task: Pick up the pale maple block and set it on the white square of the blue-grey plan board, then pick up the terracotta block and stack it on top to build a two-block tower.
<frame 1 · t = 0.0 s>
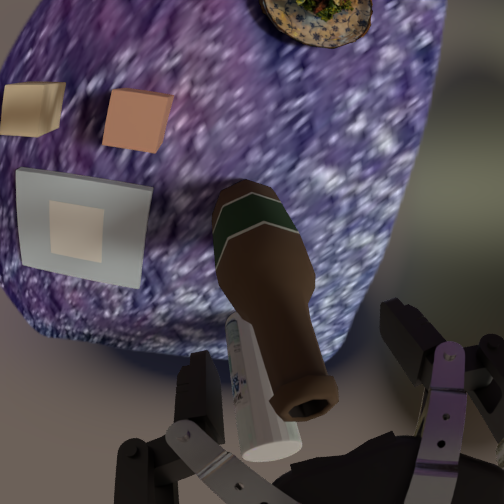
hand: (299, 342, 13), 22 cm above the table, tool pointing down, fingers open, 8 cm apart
spray can: (246, 323, 43), on the table
beer bottle: (245, 209, 34), on the table
maple block: (43, 104, 23), on the table
terracotta block: (144, 114, 26), on the table
burger: (315, 1, 22), on the table
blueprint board: (78, 227, 31), on the table
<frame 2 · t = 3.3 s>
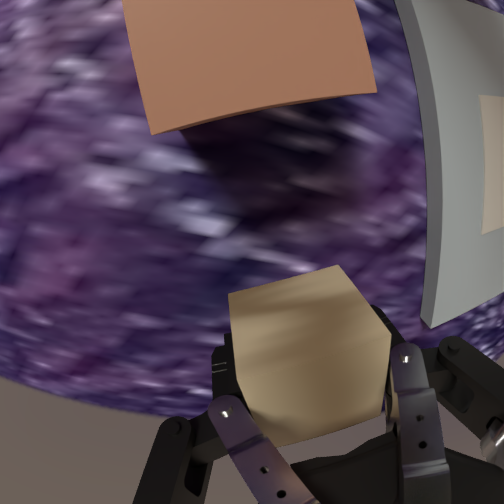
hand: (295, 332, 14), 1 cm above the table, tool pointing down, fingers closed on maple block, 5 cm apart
maple block: (292, 323, 14), on the table, touching gripper
terracotta block: (231, 51, 9), on the table
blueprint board: (503, 157, 12), on the table
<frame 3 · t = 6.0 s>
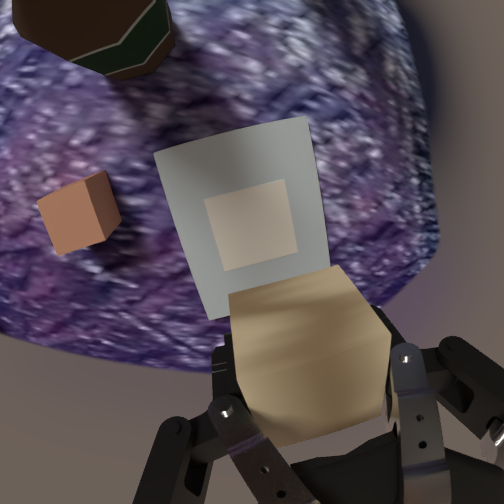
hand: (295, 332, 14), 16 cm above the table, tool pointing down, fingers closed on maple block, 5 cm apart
beer bottle: (135, 42, 20), on the table
maple block: (292, 323, 14), point 15 cm above the table, touching gripper
terracotta block: (90, 203, 25), on the table
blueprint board: (251, 222, 28), on the table
when the fingers open (3 cm above the table, at t = 8.8 s): maple block drops 1 cm, resting on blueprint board.
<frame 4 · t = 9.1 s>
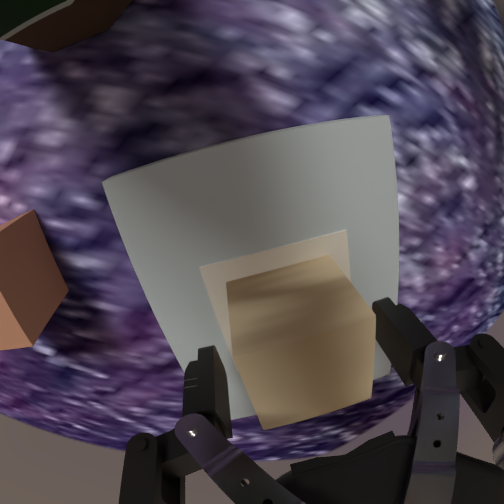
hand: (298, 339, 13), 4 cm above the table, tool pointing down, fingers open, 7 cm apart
maple block: (287, 310, 15), point 1 cm above the table, touching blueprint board
terracotta block: (22, 261, 14), on the table
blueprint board: (282, 296, 16), on the table
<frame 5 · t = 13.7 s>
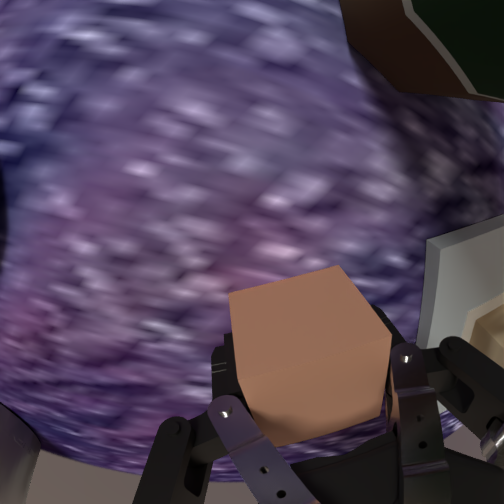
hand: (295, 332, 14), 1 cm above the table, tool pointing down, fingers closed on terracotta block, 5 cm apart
beer bottle: (406, 23, 9), on the table
maple block: (490, 333, 16), point 1 cm above the table, touching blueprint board
terracotta block: (292, 323, 14), on the table, touching gripper
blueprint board: (480, 323, 17), on the table
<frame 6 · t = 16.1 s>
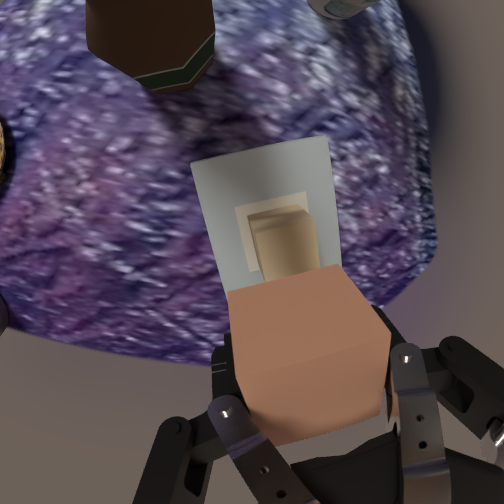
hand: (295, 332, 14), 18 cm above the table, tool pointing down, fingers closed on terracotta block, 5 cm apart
beer bottle: (172, 58, 23), on the table
maple block: (277, 233, 30), point 1 cm above the table, touching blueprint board
terracotta block: (291, 321, 14), point 18 cm above the table, touching gripper
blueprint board: (274, 228, 31), on the table
when the fingers open (8 cm above the table, at t = 19.0 s): terracotta block drops 1 cm, resting on maple block.
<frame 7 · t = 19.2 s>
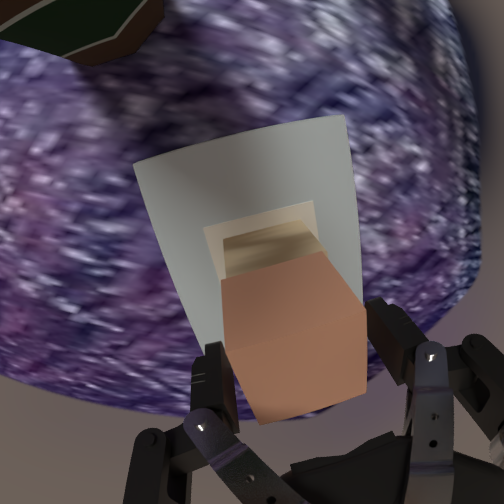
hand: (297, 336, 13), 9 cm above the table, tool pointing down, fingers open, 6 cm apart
beer bottle: (112, 16, 13), on the table
maple block: (269, 263, 20), point 1 cm above the table, touching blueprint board, terracotta block
terracotta block: (282, 307, 15), point 6 cm above the table, touching maple block
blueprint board: (266, 255, 21), on the table
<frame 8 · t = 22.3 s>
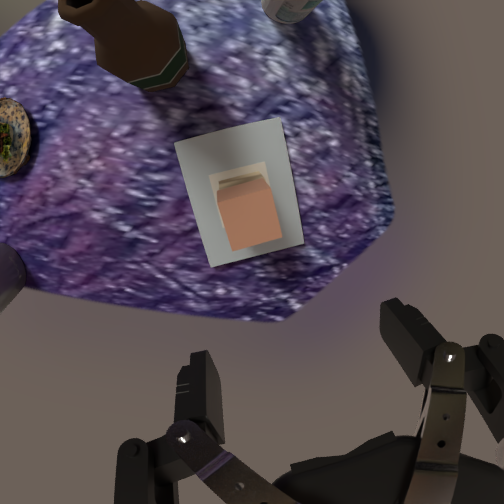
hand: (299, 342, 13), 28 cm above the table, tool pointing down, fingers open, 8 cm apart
spray can: (284, 5, 28), on the table
beer bottle: (159, 64, 30), on the table
maple block: (243, 195, 37), point 1 cm above the table, touching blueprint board, terracotta block
terracotta block: (245, 206, 33), point 6 cm above the table, touching maple block
burger: (8, 136, 30), on the table
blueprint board: (242, 192, 38), on the table
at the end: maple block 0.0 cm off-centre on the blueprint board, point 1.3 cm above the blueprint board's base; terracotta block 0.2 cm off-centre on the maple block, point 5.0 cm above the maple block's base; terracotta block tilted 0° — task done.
